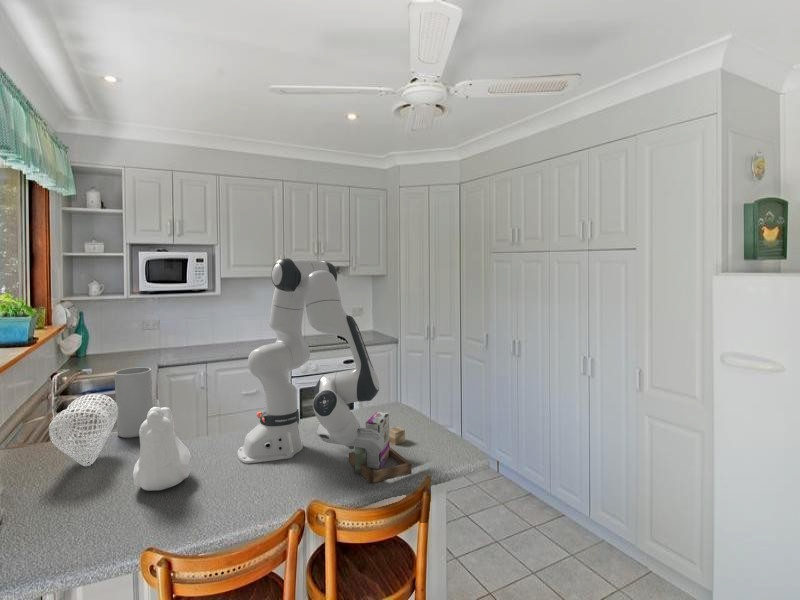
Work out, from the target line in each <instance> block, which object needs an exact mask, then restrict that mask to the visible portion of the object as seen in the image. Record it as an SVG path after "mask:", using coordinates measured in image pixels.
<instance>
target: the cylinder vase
mask: <svg viewBox="0 0 800 600" xmlns="http://www.w3.org/2000/svg"><path fill="white" fill-rule="evenodd" d="M113 374H114V390H115V391H114V393H115V402H116V403H117V407H118V416H117V420H116V427H117V436H118V437H120V438H125V439H129V438H130V439H131V438H133V439H134V438H138V437H139V438H140V436H139V431H140V427H141V425H142V423H143V422H144V421H145V420H146V419H147V414H148V412H149V410H150V409H151V408H153V407H154V406H153V405H154V403H153V402H154V401H153V385H152V384H153V383H152V380H153V379H152V368H150V367H145V366H144V367H143V366H142V367H141V366H140V367H137V366H136V367H129V368H123V369H119V370H117V371H115V372H114V373H113Z"/></svg>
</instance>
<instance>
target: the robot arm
mask: <svg viewBox="0 0 800 600" xmlns="http://www.w3.org/2000/svg"><path fill="white" fill-rule="evenodd" d="M270 277H271V282H272V284H273V285H274V287H275V288H274V290H273V294H272V295H273V296H272V300H271V307H270V313H269V321H268V324H269V326H270V328H271V330H273V331H274V332H275V334H276V340H275V342H272V343H268V344H264V345H261V346H259V347H257V348H255V349H254V350H252V351H251V352H250V353H249V354H248V358H247V367H248V370H249V372H250V373H251V374H252V375H253V376H255V377H256V378H257V379H258V380H259V381H260V383H261V385H262V388H263V391H264V392H263V393H264V400H265V405H264V406H265V410H264V411H263V412H262V411H258V412H257V413H256V417H257V418H258V419H259V422H260V423H258V424H257V425H256V426H255V427H253V428H252V429H251V430H250V431H249V432H248V433H247V434H245V437H244V442H243V446H240V447H239V448H238V449H237V458H238V460H239V461H240V462H242V463H244V464H254V463H255V464H256V463H263V462H269V461H270V462H271V461H278V460H288V459H291V458H293V457H294V455H296V454H298V453H299V452H300V451H301V450H303V448H304V445H303V442H302V438H301V434H300V428H299V424H300V411H299V408H298V390H297V387H296V385H294V384H292V383H291V382H290V381H289V379H288V375H287V374H288V372H290V371H293V370H296V369H299V368H301V367H302V366H303V365H305V364H306V363H307V362H308V361H309V360H310V356H311V351H310V346H309V345H308V343H306V341H305V340H304V337H303V334H302V329H303V327H302V325H303V316H304V310H305V312H306V318H307V320H308V323H309V326H311V327H312V328H313V329H314V330H316V331H318V332H320V333H322V334H327V335H331V336H332V335H333V336H339V337H342V338H344V339H345V340H346V341H347V343H348V346H349V349H350V351H351V355H352V357H353V358H352V359H353V360H354V363H355V367H354V368H353V369H352V368H351V369H348V370H347V369H346V370H342V371H336V372H330V373H327V374H324V375H323V374H322V376H321V377H319V379H318V381H317V382H316V385H315V388H314V398H313V402H312V409H313V412H314V415H315V417H316V419H317V420H318V422H319V425H318V427H317V430H316V435H317V436H318V438H320V440H322V441H323V442H324V443H328V444H335V445H340V446H345V447H346V448H348V449H350V450H355V447H359V448H363V450H364V451H367V452H369V449H372V450H379V451H380V450H382V448H383V446H384V442H385V440H384V438H383V437H382V436H381V434H380V433H379V432H377V431H376V430H373V429H367V428H366V427H361V424H360V421H359V419H357V417H356V416H355V414H354V413H353V412H352V411H351V410H350V407H349V405H348V404H353V403H357V402H359V403H361V402H368V401H369V402H371V401H372V400H373V399H374V398H375V397H376V396H377V394H378V392H379V391H380V382H379V381H380V380H379V378H378V375H377V374H376V371H375V369H374V366H373V364H372V362H371V359H370V355H369V353H368V350H367V348H366V347H367V346H366V345H365V341H364V340H363V336H362V334H361V332H360V329H359V326H358V324H357V322H356V320H355V319H354V317H353V316H351V315H348V314H347V313H346V311H345V310H344V308H343V305H342V299H341V293H340V290H339V286H338V283H337V282H338V281H337V280H338V272H337V268H336V267H335V265H334V264H332V263H331V262H328V261H325V260H318V259H311V258H303V259H302V258H295V259H294V258H281V259H277V261H276V262H275V263H274V264H273V266H272V269H271V276H270Z"/></svg>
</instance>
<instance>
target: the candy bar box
mask: <svg viewBox="0 0 800 600" xmlns="http://www.w3.org/2000/svg"><path fill="white" fill-rule="evenodd" d="M365 428H367V429H373V430H376V431H377V432H379V433H380V434H381V436H382V437H383V438H384V440H385V442H384V446H383V448H382V450H380V451H379V450H372V449H369V452H367V451H366V455H367V456H366V466H367V467H368V468H369V469H370V470H371V471H374V470H373V469H378V470H380V469H381V468H382V467H383V466H384V465H385V463H386V462H387V460H388V458H389V457H390V447H391V446H390V445H391V444H389V429H390V413H389V412H386V411H385V412H384V411H376V412H374V413H373V414H372V416H371V417H369V418H368V420H367V421H366V422H365Z"/></svg>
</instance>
